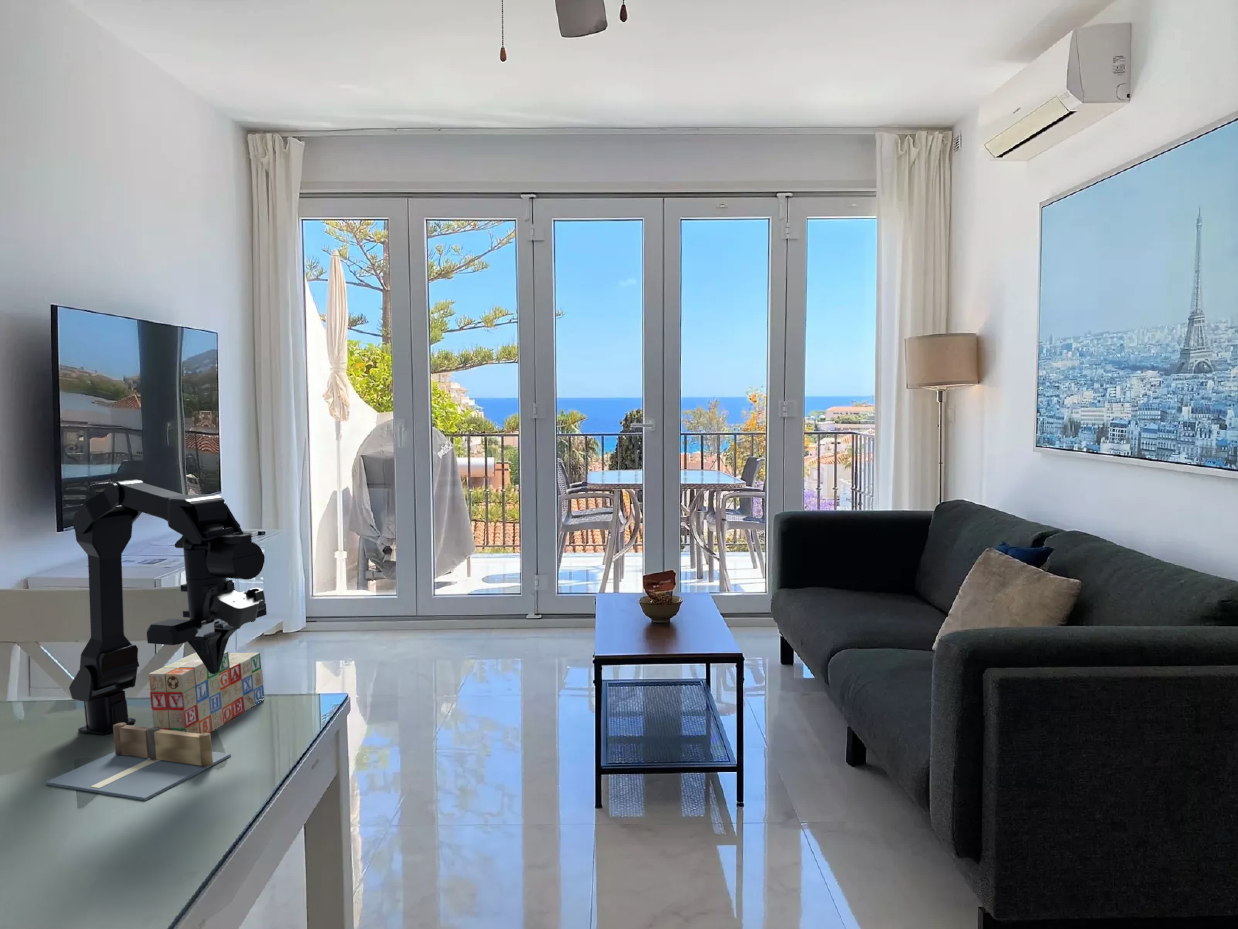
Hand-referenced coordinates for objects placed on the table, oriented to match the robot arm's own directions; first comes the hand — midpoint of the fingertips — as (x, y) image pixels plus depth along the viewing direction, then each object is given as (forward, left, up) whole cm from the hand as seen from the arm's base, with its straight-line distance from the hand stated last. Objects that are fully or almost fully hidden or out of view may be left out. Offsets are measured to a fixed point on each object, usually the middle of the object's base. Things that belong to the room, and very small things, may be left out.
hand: (214, 673), depth 136 cm
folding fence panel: (-2, -5, -12) cm, 14 cm away
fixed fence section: (-11, -6, -13) cm, 18 cm away
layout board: (-7, -9, -13) cm, 17 cm away
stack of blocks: (-13, +11, -13) cm, 21 cm away
